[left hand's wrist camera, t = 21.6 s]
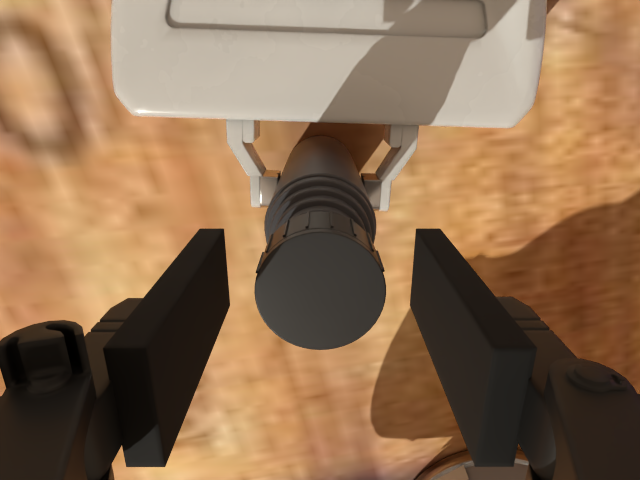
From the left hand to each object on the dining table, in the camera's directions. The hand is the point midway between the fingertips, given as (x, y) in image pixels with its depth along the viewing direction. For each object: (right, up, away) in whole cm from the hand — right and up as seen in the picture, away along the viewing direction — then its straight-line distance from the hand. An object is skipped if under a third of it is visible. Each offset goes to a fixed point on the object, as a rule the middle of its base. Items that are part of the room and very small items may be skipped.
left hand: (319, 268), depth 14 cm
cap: (0, -1, -1) cm, 1 cm away
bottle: (0, +6, +16) cm, 17 cm away
